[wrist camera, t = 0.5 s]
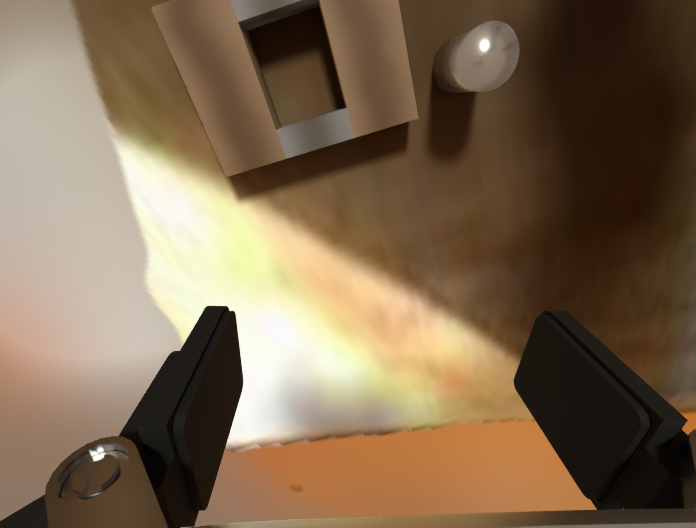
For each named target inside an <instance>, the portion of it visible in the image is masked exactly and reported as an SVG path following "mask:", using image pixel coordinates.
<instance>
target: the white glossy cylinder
mask: <svg viewBox="0 0 696 528" xmlns="http://www.w3.org/2000/svg"><path fill="white" fill-rule="evenodd" d="M518 58H519V42H518V38H517V36H516V34H515V32H514V31H513V29H512V28H511V27H510V26H509V25H507V24H505V23H503V22H500V21H490V22H486V23H484V24H481V25H479V26H477V27H475V28H473V29H471V30H469V31H467V32H465V33H463V34H461V35H459V36H457V37H455V38H452V39H450V40H449V41H447V42H446V43H444V44H443V45H442V46H441V47H440V49H439V50H438V52H437V53H436V55H435V58H434V62H433V76H434V79H435V82H436V83H437V85H438V86H439V87H440V88H441V89H442V90H444V91H446V92H449V93H462V92H483V91H491V90H494V89H496V88H498V87H500V86H501V85H503V84H504V83H505V82H506V81H507V80H508V79H509V77H510V76H511V75H512V73H513V71H514V70H515V67H516V65H517V62H518Z"/></svg>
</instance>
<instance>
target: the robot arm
mask: <svg viewBox="0 0 696 528" xmlns="http://www.w3.org/2000/svg"><path fill="white" fill-rule="evenodd" d="M514 386H515V389H516V391H517V392H518V394H519V395H520V397H521V398H522V400H523V402H524V403H525V405H526V406H527V408H528V409H529V411H530V412H531V414H532V416H533V417H534V419H535V420H536V422H537V423H538V425H539V426H540V428H541V429H542V431H543V432H544V434H545V436H546V437H547V439H548V440H549V442H550V444H551V445H552V447H553V448H554V450H555V451H556V453H557V454H558V456H559V458H560V459H561V461H562V462H563V464H564V465H565V467H566V468H567V470H568V471H569V473H570V475H571V476H572V478H573V479H574V481H575V482H576V484H577V486H578V487H579V489H580V490H581V492H582V493H583V494H584V496H585V497H587V498H588V499H590V500H591V501H592V502H593V504H594V505H595V507H596V509H597V510H572V511H533V512H501V513H500V512H498V513H465V514H434V515H404V516H375V517H347V518H319V519H296V520H278V521H260V522H243V523H228V524H219V525H209V526H200V527H193V526H194V525H195V522H196V519H197V515H198V512H199V510H205V509H206V508H207V506H208V503H209V500H210V497H211V493H212V490H213V487H214V483H215V480H216V476H217V473H218V470H219V466H220V463H221V459H222V456H223V453H224V449H225V446H226V443H227V439H228V436H229V433H230V429H231V426H232V422H233V419H234V416H235V412H236V409H237V406H238V402H239V399H240V395H241V392H242V387H243V374H242V366H241V357H240V349H239V340H238V332H237V323H236V315H235V312H234V311H229V308H228V307H227V306H207V307H206V308H205V309H204V311H203V313H202V314H201V316H200V318H199V320H198V321H197V323H196V325H195V326H194V328H193V330H192V331H191V333H190V335H189V337H188V338H187V340H186V342H185V343H184V345H183V347H182V348H181V350H180V351H174V352H172V353H171V354H170V355H169V356H168V358H167V359H166V361H165V362H164V364H163V365H162V367H161V369H160V370H159V372H158V374H157V375H156V377H155V378H154V380H153V381H152V383H151V385H150V386H149V388H148V390H147V391H146V393H145V394H144V396H143V398H142V399H141V401H140V402H139V404H138V406H137V407H136V409H135V410H134V412H133V414H132V416H131V417H130V418H129V420H128V422H127V424H126V425H125V427H124V428H123V430H122V431H121V433H120V435H119V436H111V437H106V438H101V439H98V440H95V441H93V442H91V443H88V444H86V445H84V446H82V447H81V448H79V449H78V450H76V451H74V452H73V453H72V454H71V455H70V456H68V457H67V458H66V459H65V460H64V461H62V462H61V463H60V465H59V466H58V467H57V468H56V470H55V471H54V472H53V473H52V475H51V477H50V479H49V481H48V483H47V485H46V491H45V495H43V496H42V497H40V498H39V499H37V500H35V501H33V502H32V503H30V504H28V505H27V506H25V507H23V508H22V509H20V510H18V511H17V512H15V513H13V514H12V515H10V516H8V517H7V518H5V519H3V520H2V521H0V528H180V527H190V526H191V527H192V528H696V429H695V430H693V431H692V432H691V433H690V434H689V435H687V434H686V433H685V432H684V431H683V430H682V428H683V426H684V425H685V423H686V422H687V421H688V420H687V419H686V418H685V417H684V416H683V415H681V414H680V413H679V412H678V411H677V410H676V409H675V408H674V407H673V406H671V405H670V404H669V403H668V402H667V401H666V400H665V399H664V398H662V397H661V396H660V395H659V394H658V393H657V392H656V391H655V390H654V389H652V388H651V387H650V386H649V385H648V384H647V383H646V382H645V381H643V380H642V379H641V378H640V377H639V376H638V375H637V374H636V373H635V372H633V371H632V370H631V369H630V368H629V367H628V366H627V365H626V364H625V363H623V362H622V361H621V360H620V359H619V358H618V357H617V356H616V355H614V354H613V353H612V352H611V351H610V350H609V349H608V348H607V347H606V346H604V345H603V344H602V343H601V342H600V341H599V340H598V339H597V338H595V337H594V336H593V335H592V334H591V333H590V332H589V331H588V330H587V329H585V328H584V327H583V326H582V325H581V324H580V323H579V322H578V321H577V320H575V319H574V318H573V317H572V316H571V315H570V314H569V313H567V312H566V311H544V312H543V313H542V314H541V315H539V316H538V317H537V318H536V320H535V323H534V326H533V328H532V331H531V334H530V337H529V339H528V342H527V345H526V348H525V350H524V353H523V356H522V358H521V361H520V364H519V367H518V369H517V372H516V375H515V378H514ZM623 508H624V509H623Z"/></svg>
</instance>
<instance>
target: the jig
mask: <svg viewBox="0 0 696 528" xmlns="http://www.w3.org/2000/svg"><path fill="white" fill-rule="evenodd" d="M316 7H319V8H320V12H321V16H322V20H323V24H324V27H325V31H326V35H327V39H328V43H329V47H330V51H331V55H332V58H333V62H334V66H335V70H336V74H337V78H338V82H339V85H340V89H341V93H342V97H343V101H344V105H345V107H344V108H341V109H338V110H334V111H331V112H328V113H325V114H322V115H318V116H315V117H312V118H309V119H306V120H302V121H299V122H296V123H293V124H290V125H286V126H283V127H281V125H280V122H279V119H278V116H277V113H276V110H275V107H274V105H273V102H272V99H271V96H270V93H269V90H268V87H267V84H266V81H265V79H264V76H263V73H262V70H261V67H260V64H259V61H258V58H257V55H256V53H255V50H254V47H253V44H252V41H251V38H250V35H249V32H248V30H251V29H254V28H257V27H259V26H262V25H265V24H268V23H271V22H274V21H277V20H280V19H283V18H286V17H289V16H292V15H295V14H298V13H301V12H304V11H307V10H310V9H313V8H316ZM151 9H152V11H153V13H154V15H155V18H156V20H157V22H158V24H159V27H160V29H161V31H162V33H163V36H164V38H165V40H166V42H167V45H168V47H169V49H170V51H171V54H172V56H173V58H174V60H175V63H176V65H177V67H178V69H179V72H180V74H181V76H182V78H183V81H184V83H185V85H186V87H187V90H188V92H189V94H190V96H191V99H192V101H193V103H194V105H195V108H196V110H197V112H198V114H199V117H200V119H201V121H202V123H203V126H204V128H205V130H206V132H207V135H208V137H209V139H210V141H211V144H212V146H213V148H214V150H215V153H216V155H217V157H218V159H219V162H220V164H221V166H222V168H223V171H224V173H225V175H226V177H228V176H232V175H235V174H238V173H241V172H245V171H248V170H251V169H255V168H258V167H261V166H264V165H268V164H271V163H274V162H277V161H281V160H284V159H287V158H291V157H294V156H297V155H300V154H304V153H307V152H310V151H313V150H317V149H320V148H323V147H327V146H330V145H333V144H336V143H340V142H343V141H346V140H349V139H353V138H356V137H359V136H363V135H366V134H369V133H372V132H376V131H379V130H382V129H385V128H389V127H392V126H395V125H399V124H402V123H405V122H408V121H412V120H415V119H418V113H417V107H416V101H415V96H414V90H413V84H412V78H411V72H410V66H409V60H408V54H407V48H406V43H405V37H404V31H403V25H402V19H401V13H400V7H399V1H398V0H171V1H168V2H165V3H162V4H159V5H157V6H154V7H151Z"/></svg>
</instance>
